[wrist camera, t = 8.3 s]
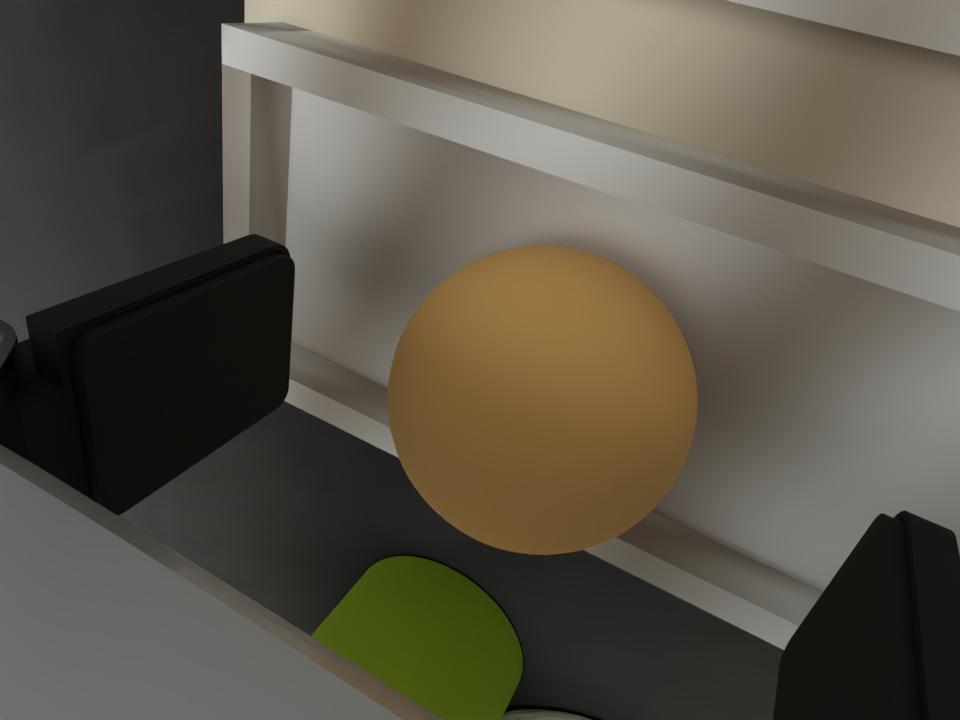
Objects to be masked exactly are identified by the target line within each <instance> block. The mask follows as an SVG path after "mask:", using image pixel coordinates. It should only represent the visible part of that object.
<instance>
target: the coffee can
mask: <svg viewBox="0 0 960 720" xmlns="http://www.w3.org/2000/svg"><path fill="white" fill-rule="evenodd" d="M501 720H592V719H589V718H586V717H583V716H580V715H575V714H571V713H566V712H560V711H552V710H545V709H516V710H512V711H509V712H506V713H504V715H503V717H502V719H501Z"/></svg>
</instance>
